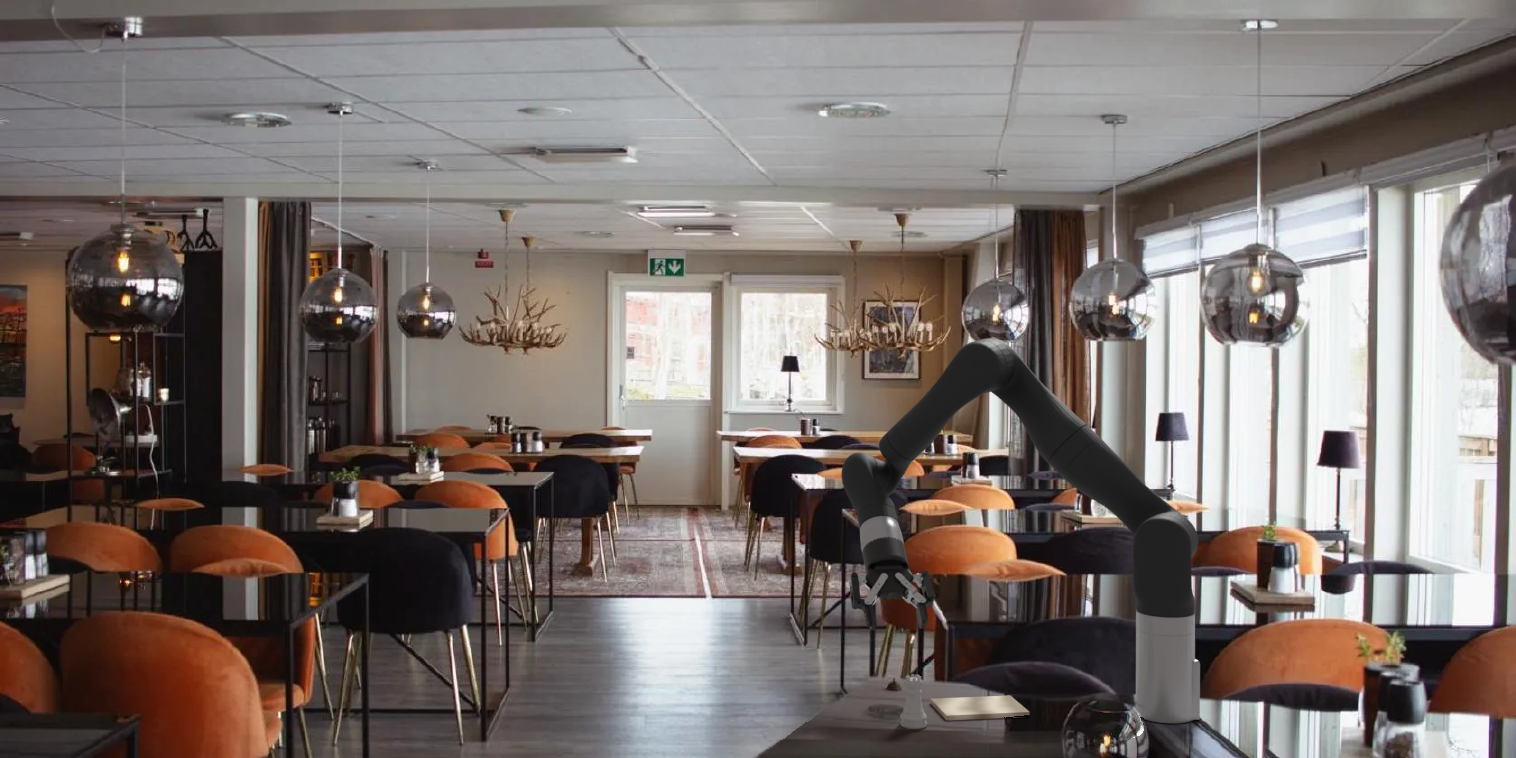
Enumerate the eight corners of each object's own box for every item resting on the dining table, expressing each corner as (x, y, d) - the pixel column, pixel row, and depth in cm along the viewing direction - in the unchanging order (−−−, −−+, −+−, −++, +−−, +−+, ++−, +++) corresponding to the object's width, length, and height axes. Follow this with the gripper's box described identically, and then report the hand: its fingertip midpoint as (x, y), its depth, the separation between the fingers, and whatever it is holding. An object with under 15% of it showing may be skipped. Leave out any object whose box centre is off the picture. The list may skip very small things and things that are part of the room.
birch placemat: (1010, 699, 223) (1010, 695, 223) (1029, 716, 213) (1029, 711, 213) (930, 703, 221) (930, 698, 221) (946, 720, 212) (946, 715, 211)
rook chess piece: (926, 730, 206) (926, 680, 206) (898, 729, 207) (898, 679, 207) (928, 722, 210) (928, 673, 210) (900, 721, 211) (900, 672, 211)
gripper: (846, 536, 226) (860, 615, 215) (926, 534, 228) (943, 613, 217) (840, 561, 232) (853, 640, 221) (918, 559, 233) (935, 637, 222)
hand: (898, 626), depth 219 cm, fingers open, 8 cm apart
